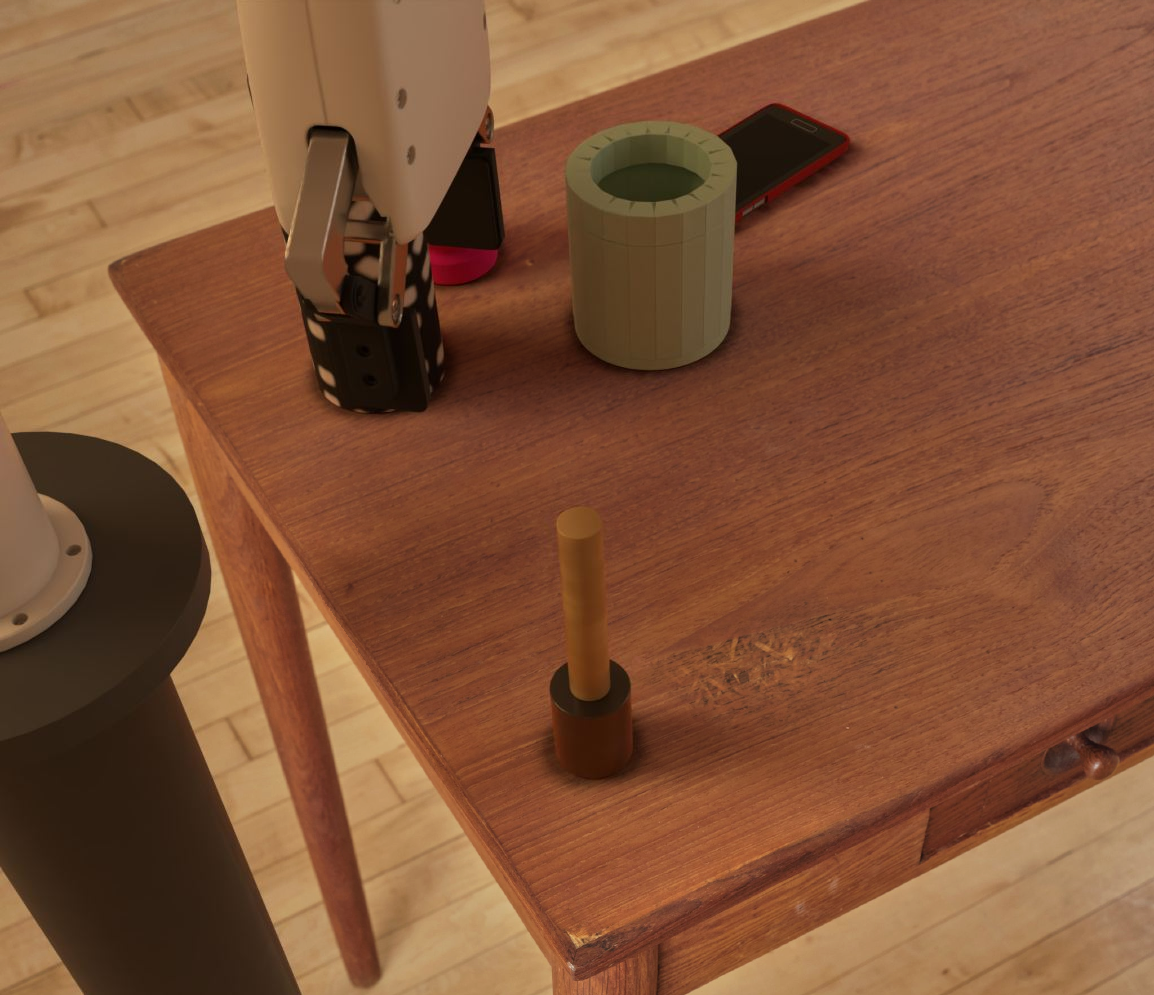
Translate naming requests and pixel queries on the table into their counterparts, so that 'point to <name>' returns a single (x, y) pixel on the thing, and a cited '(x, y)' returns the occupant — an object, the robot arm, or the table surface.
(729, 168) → the jar
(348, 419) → the table surface
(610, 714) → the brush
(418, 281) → the white-spotted black cylinder
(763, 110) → the cell phone
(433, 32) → the robot arm
